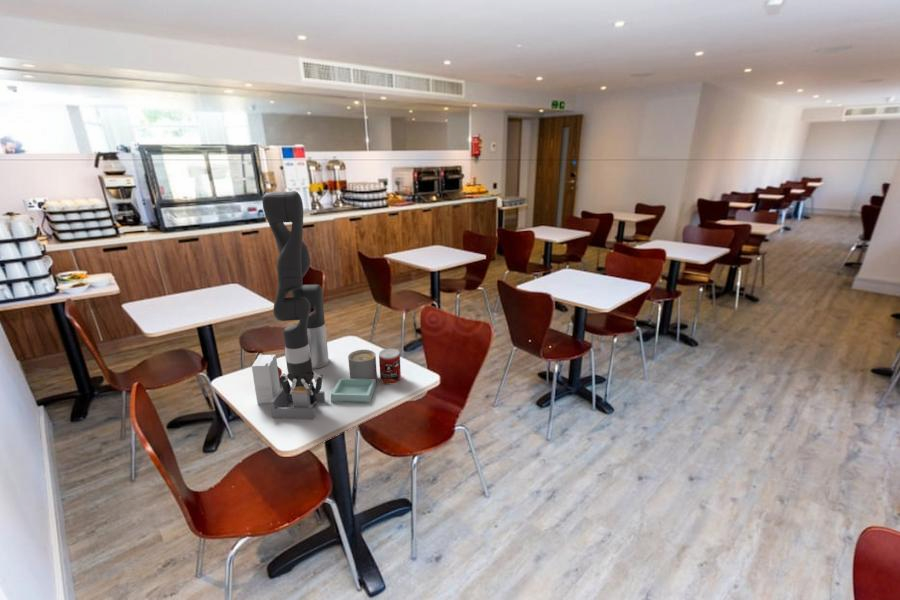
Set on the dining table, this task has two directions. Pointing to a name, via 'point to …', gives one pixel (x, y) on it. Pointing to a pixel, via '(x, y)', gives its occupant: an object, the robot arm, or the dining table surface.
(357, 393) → the tray
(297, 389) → the grey block tan panel
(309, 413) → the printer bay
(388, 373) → the canned food
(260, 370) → the skincare box
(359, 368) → the coffee mug
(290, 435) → the dining table surface
